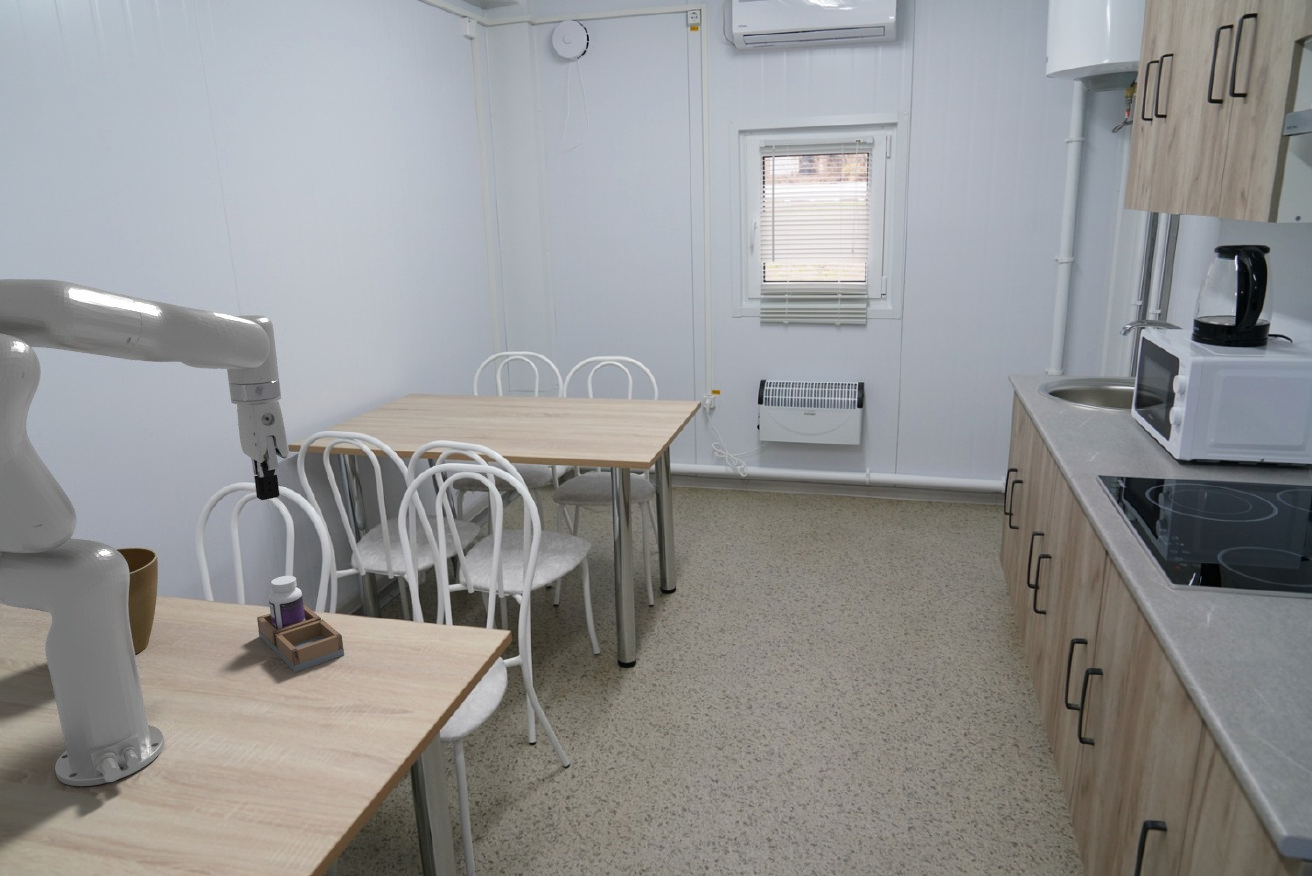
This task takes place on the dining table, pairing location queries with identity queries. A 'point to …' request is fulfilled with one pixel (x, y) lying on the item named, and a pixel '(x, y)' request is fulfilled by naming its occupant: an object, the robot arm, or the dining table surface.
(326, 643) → the two-cubby wooden organizer
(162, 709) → the dining table surface
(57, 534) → the robot arm
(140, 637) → the plant pot
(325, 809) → the dining table surface
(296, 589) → the pill bottle
